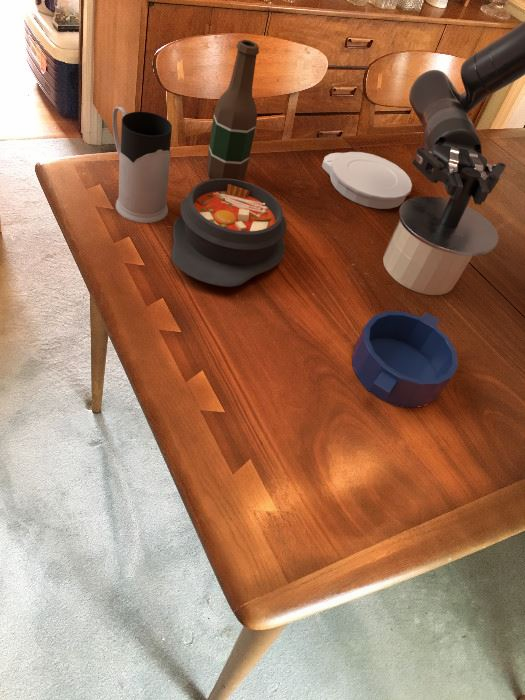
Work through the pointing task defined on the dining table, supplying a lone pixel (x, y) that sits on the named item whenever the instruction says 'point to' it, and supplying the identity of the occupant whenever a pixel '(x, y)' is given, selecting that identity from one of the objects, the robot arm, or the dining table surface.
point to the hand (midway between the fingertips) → (469, 195)
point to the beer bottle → (234, 119)
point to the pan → (404, 358)
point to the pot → (422, 264)
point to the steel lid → (450, 221)
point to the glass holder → (143, 165)
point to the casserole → (228, 232)
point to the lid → (368, 179)
